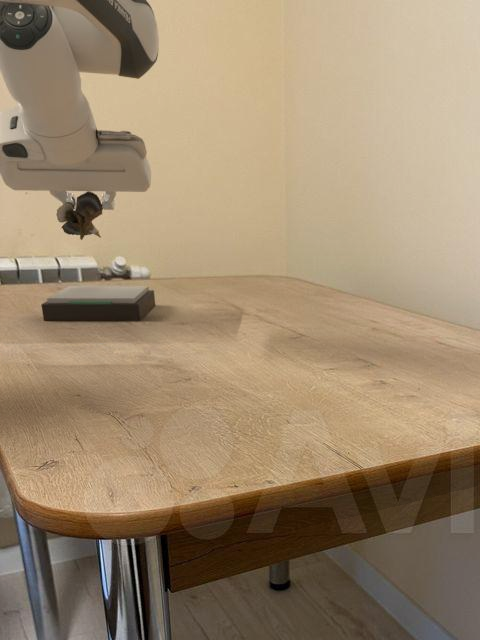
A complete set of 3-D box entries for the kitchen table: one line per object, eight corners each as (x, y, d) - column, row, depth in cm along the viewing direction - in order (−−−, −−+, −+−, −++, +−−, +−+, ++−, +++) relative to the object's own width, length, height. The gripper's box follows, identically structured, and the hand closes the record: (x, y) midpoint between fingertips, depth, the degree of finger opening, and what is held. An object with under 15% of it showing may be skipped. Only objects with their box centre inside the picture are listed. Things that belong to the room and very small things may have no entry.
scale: (43, 320, 105) (40, 298, 104) (69, 304, 118) (66, 285, 116) (140, 320, 106) (137, 298, 105) (155, 304, 119) (153, 285, 118)
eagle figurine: (121, 231, 106) (115, 216, 113) (88, 188, 101) (84, 175, 108) (79, 260, 106) (76, 243, 113) (45, 219, 102) (43, 204, 108)
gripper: (143, 115, 97) (160, 191, 110) (-14, 111, 95) (23, 189, 107) (140, 150, 94) (159, 223, 107) (-20, 147, 92) (18, 222, 105)
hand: (90, 206), depth 107 cm, fingers closed on eagle figurine, 4 cm apart
